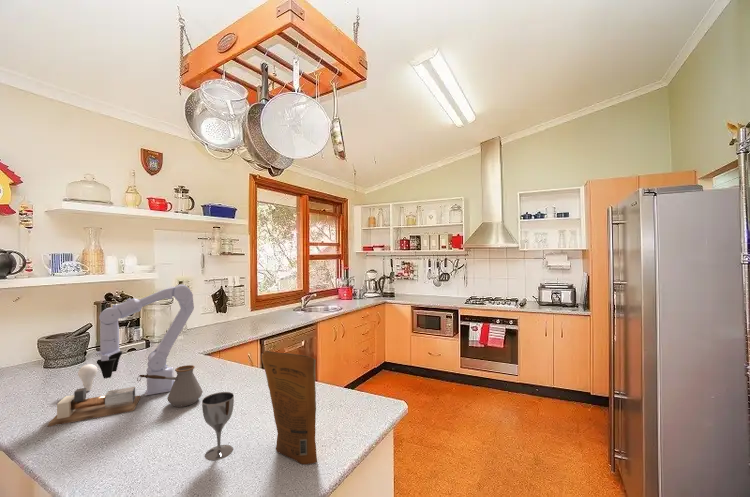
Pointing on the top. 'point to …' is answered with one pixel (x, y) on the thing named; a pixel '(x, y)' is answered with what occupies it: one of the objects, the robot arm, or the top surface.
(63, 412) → the cream rectangular block
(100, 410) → the walnut board
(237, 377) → the top surface
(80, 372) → the lightbulb
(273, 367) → the pancake mix bag
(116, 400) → the sleeve
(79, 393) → the brown piece
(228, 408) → the wine glass
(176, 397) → the coffee pot
